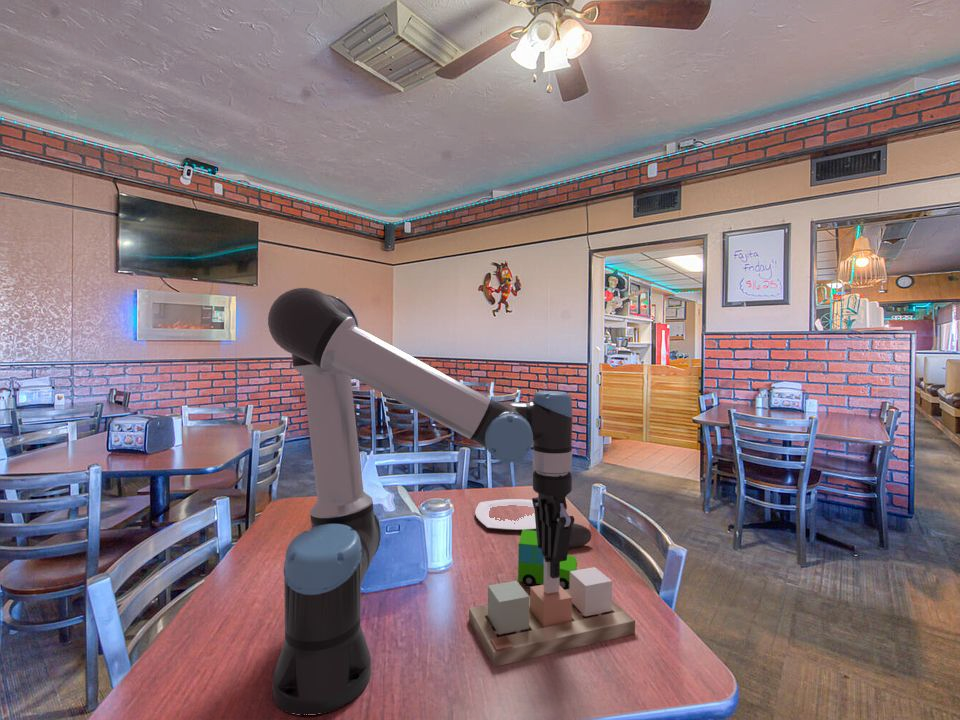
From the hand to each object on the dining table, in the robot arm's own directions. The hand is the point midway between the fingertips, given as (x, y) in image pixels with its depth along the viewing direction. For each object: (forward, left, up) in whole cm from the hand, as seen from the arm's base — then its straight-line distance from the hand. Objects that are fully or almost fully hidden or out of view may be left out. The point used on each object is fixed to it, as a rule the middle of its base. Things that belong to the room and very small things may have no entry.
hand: (551, 590), depth 88 cm
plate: (+17, +55, -8) cm, 58 cm away
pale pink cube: (+9, 0, -5) cm, 10 cm away
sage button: (-9, 0, -5) cm, 10 cm away
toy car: (+8, +16, -7) cm, 19 cm away
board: (0, 0, -7) cm, 7 cm away
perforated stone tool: (+21, +31, -7) cm, 38 cm away
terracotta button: (0, 0, -6) cm, 6 cm away
